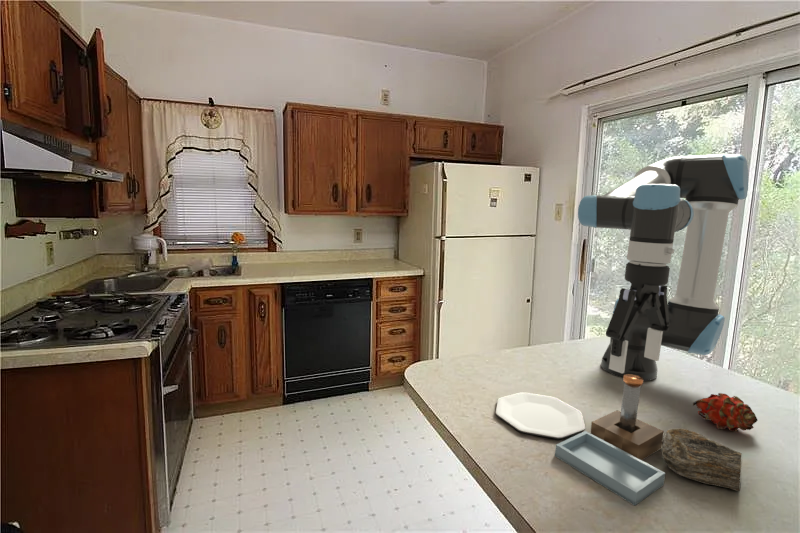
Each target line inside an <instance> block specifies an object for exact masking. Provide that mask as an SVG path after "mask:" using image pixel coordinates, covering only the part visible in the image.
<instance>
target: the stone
mask: <svg viewBox="0 0 800 533" xmlns="http://www.w3.org/2000/svg"><path fill="white" fill-rule="evenodd" d="M661 448H662V450H661V453H662V458H663V460H664V461H665V465H666V466H667V467H668V468H669V469H670V470H671V471H673V472H674V473H675V474H676V475H678V476H680V477H685V478H687V479H689V480H692V481H696V482H699V483H701V484H702V483H703V484H706V485H712V486H715V487H720V488H727V489H731V490H732V491H737V492H740V490H741V489H740V488H741V486H740V485H741V475H742V473H741V472H742V455H743V454H742V453H741V452H739V451H738V450H737V451H736V450H734V449H732V448H730V447H727V446H725V445H723V444H721V443H720V442H718V441H715V440H711V438H708V437H706V436H704V435H703V434H701V433H698V432H696V431H694V430H690V429H687V428H670V429H667V431H666V434H664V435H663V440H662V447H661Z"/></svg>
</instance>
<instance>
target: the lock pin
mask: <svg viewBox="0 0 800 533" xmlns="http://www.w3.org/2000/svg"><path fill="white" fill-rule="evenodd" d="M622 379H623V380H622V381H623V383H624V384H623V390H622V391H623V393H622V399H621V400H622V402H621V407H620V412H621V414H620V422H619V427H620V428H622V429H624V430H626V431H628V432H630V433H633V432H634V431H635V426H636V419H638V411H639V403H640V402H639V401H640V395H641V388H642V386H643V384H644V381H643V378H641V377H639V376H636V375H632V374H625V375H624V377H623V378H622Z"/></svg>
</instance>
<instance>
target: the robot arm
mask: <svg viewBox="0 0 800 533" xmlns="http://www.w3.org/2000/svg"><path fill="white" fill-rule="evenodd" d="M748 167H749V166H748V161H747V158H746V157H745V155H743V154H739V153H717V154H715V153H714V154H700V155H699V154H698V155H679V156H672V157H667V158H664V159H660V160H658V161H655V162H653V163H650V164H648V165H646V166H644V167H642V168H641V169H639V170H638V171H637V172H636V173H635V175H634V176H633V177H632V178H631V179H629V180H627V181H625V182H624V183H622V184H619V185H618V186H617V187H615V188H613V189H611V190H610V191H608V192H606V193H604V194H601V195H600V194H598V195H597V194H593V195H585V196H583V197H582V198H581V200H580V201H579V205H578V207H577V217H578V218H577V219H578V222H579V224H580V225H582V226H583V227H591V228H594V229H597V228H598V229H612V230H613V229H615V230H617V229H618V230H630V233H629V239H628V240H629V241H628V247H627V248H628V249H627V255H626V260H628V261H629V262H627V263H626V265H625V272H624V280H625V281H626V282H629V283H630V287H629V288H623V287H621V289H620V291H619V295H618V298H617V299H616V300H615V301H614V302H615V303H614V307H613V311H612V315H611V319H610V320H609V322H608V326H607V329H606V331H605V336H606V337H607V338H610V339H609V340H610V341H609V344H608V346H607V348H606V350H605V352H604V354H603V355H602V357H601V362H600V366H601V368H602V370H604V371H606V372H607V373H609V374H610V375H614V376H616V377H620V378H622V379H623V377H624V375H625V374H632V375H636V376H639V377H641V378H643V382H644V381H645V382H646V381H652V380H653V381H654V380H655V379H656V378H657V377H658V376H657V375H658V365H657V362H659V360H660V354H661V347H666V348H669V349H670V348H671V349H675V350H678V351H683V352H686V353H688V354H694V355H695V354H696V355H702V356H707V355H710V354H711V353H712V352H713V351H714V349H715V348H716V346H717V343H718V341H719V339H720V336H721V334H722V332H723V328H724V324H725V319H726V317H725V316H724V315H722V314H719V311H720V307H719V306H718V304H717V303H715V301H714V300H715V299H714V297H715V293H716V289H717V281H718V276H719V270H720V265H721V259H722V253H723V249H724V242H725V238H726V230H727V225H728V219H729V214H730V212H731V211H733V210H735V209H736V208H737V207H738V205H739V201H740V200H741V201H742V200H745V199H747V197H748V191H749V168H748ZM685 228H686V232H685V239H684V245H683V249H682V250H683V252H682V256H681V262H680V269H679V274H678V279H677V284H676V293H675V295H674V296H672V297H671V298H669V299H668V297H667V296H668V286H667V284H668V283H669V279H670V278H669V276H670V267H669V266H668V264H670V263H671V260H672V254H674V253H675V250H674V249H675V248H673V246H674V240H675V239H674V238H675V233H676V232H679V231H682V230H684V229H685Z"/></svg>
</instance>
